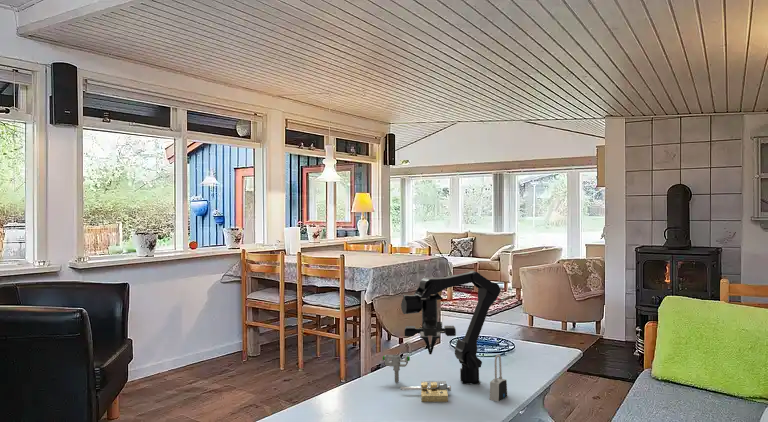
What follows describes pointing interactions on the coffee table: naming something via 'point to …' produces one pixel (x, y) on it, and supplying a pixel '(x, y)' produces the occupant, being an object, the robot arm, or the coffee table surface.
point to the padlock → (498, 384)
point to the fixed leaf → (440, 386)
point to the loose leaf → (433, 394)
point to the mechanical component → (395, 363)
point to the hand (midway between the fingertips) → (430, 354)
